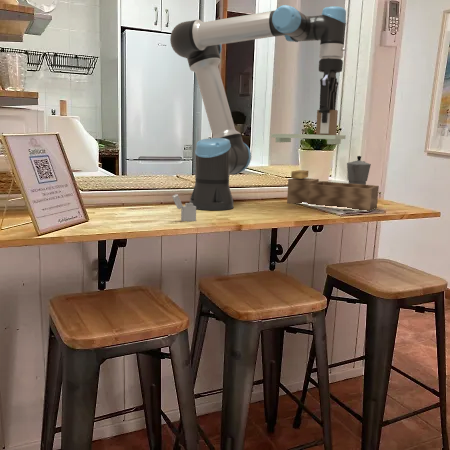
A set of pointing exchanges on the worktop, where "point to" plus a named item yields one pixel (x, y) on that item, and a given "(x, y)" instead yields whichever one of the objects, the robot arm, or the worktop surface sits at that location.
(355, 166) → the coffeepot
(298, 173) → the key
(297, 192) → the brown wooden box
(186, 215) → the lighter
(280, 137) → the lid
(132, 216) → the worktop surface
